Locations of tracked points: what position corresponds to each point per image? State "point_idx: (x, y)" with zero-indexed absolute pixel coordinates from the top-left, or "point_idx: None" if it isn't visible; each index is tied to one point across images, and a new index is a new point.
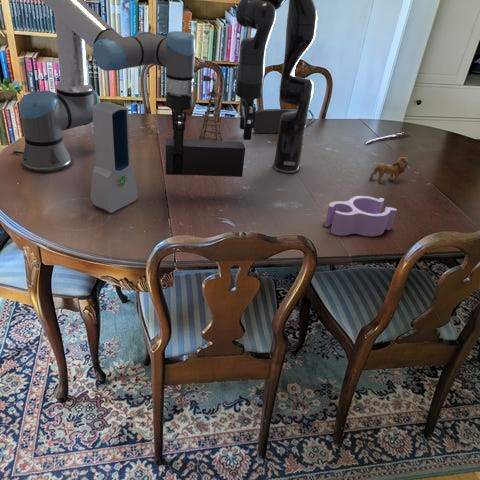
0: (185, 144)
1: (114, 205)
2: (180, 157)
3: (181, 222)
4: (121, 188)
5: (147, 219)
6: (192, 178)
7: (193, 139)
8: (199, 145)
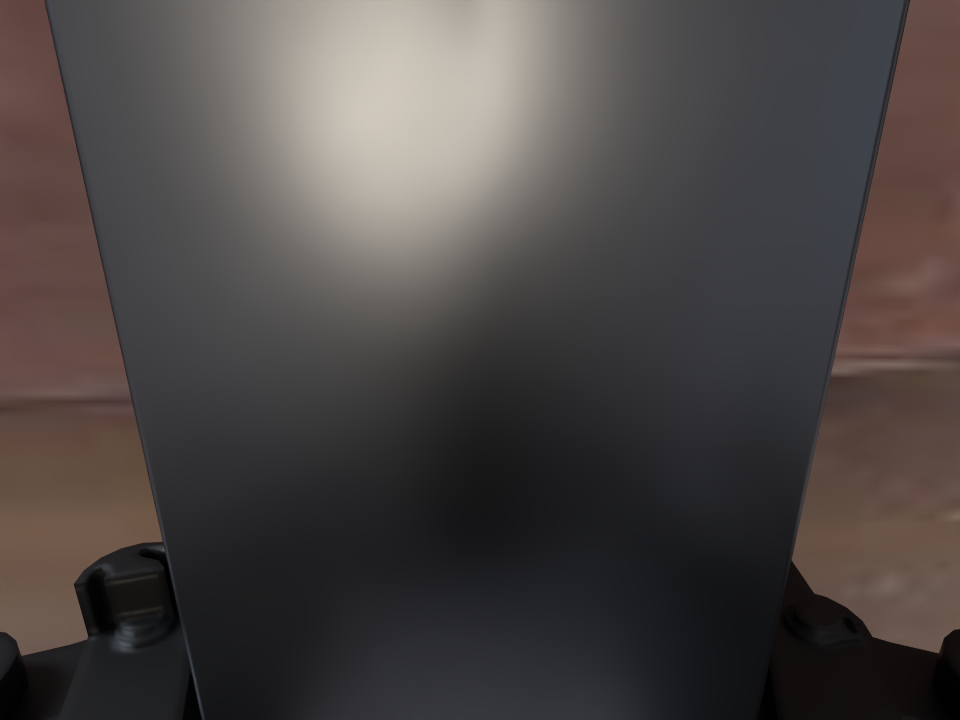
0: (653, 671)
1: None
2: (802, 584)
3: (896, 277)
4: None
5: (804, 504)
6: (57, 139)
7: (139, 418)
8: (746, 218)
